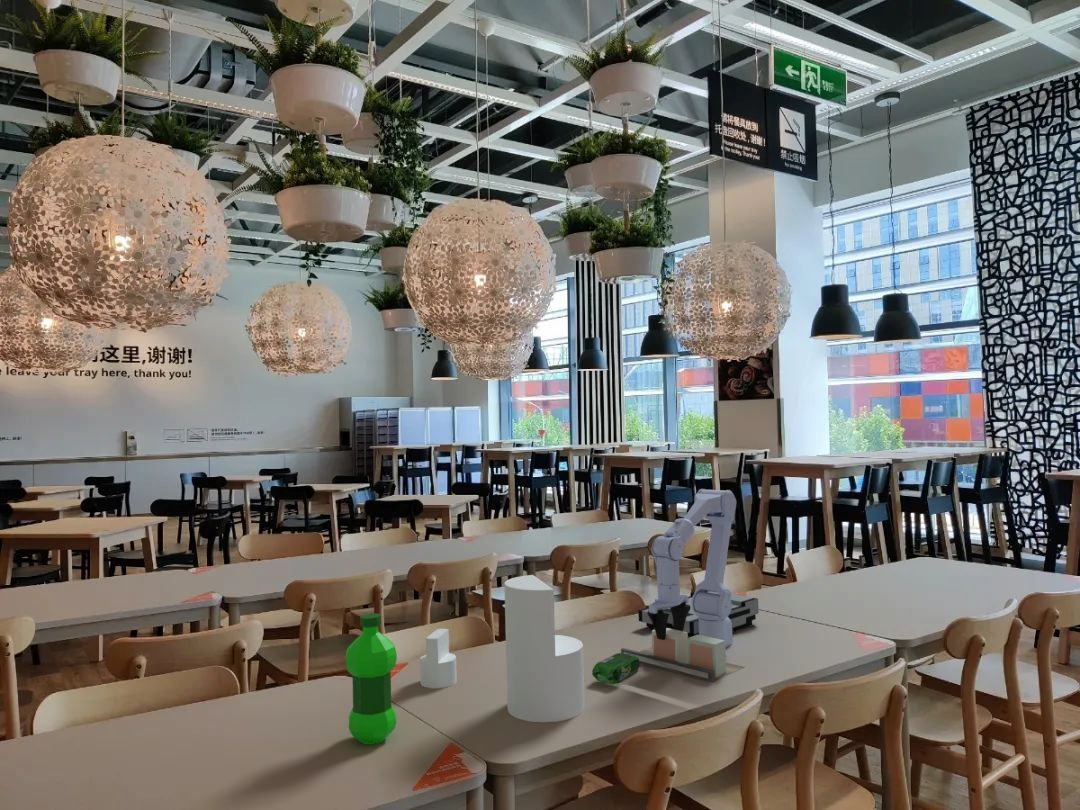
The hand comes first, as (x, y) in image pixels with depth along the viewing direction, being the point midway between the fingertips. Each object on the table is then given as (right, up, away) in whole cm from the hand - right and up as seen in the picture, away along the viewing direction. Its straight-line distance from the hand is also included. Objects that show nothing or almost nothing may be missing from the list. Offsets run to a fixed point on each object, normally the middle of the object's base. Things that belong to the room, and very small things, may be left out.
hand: (670, 635), depth 197 cm
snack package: (-15, -8, -8) cm, 19 cm away
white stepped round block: (-32, -8, -26) cm, 43 cm away
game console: (+15, -9, +36) cm, 40 cm away
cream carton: (0, -7, 0) cm, 7 cm away
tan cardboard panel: (+3, -8, 0) cm, 8 cm away
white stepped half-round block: (-59, -9, -8) cm, 60 cm away
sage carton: (+8, -7, -8) cm, 13 cm away
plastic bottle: (-68, -9, -41) cm, 80 cm away
